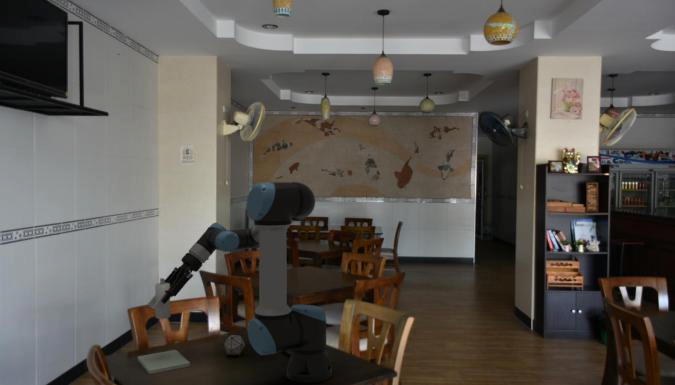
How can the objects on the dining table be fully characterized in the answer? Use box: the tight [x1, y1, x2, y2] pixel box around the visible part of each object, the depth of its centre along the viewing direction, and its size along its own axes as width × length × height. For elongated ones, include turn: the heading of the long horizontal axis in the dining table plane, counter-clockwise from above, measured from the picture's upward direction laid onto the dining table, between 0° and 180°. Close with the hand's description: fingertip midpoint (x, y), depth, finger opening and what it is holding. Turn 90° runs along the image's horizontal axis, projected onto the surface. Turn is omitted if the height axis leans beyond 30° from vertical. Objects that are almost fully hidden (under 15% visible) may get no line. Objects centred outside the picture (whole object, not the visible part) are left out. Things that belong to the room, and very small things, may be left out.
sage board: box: [137, 349, 191, 375], centre depth 189 cm, size 18×14×1 cm
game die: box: [221, 333, 248, 358], centre depth 196 cm, size 9×8×10 cm
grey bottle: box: [154, 277, 171, 320], centre depth 190 cm, size 5×5×14 cm
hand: (152, 308), depth 188 cm, fingers closed on grey bottle, 5 cm apart
